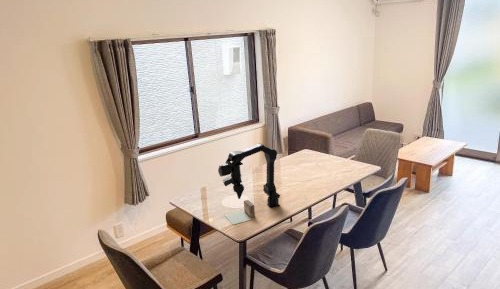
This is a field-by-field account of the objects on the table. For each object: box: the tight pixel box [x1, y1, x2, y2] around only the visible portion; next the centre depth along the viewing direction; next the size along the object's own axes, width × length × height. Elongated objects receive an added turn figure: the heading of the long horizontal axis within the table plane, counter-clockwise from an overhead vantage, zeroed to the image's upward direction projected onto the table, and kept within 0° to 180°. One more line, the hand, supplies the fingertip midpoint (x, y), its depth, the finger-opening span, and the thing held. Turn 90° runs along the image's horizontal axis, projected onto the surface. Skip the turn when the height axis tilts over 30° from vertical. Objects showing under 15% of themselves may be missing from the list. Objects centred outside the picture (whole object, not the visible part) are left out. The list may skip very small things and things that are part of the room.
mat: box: [224, 210, 252, 226], centre depth 227 cm, size 12×14×1 cm
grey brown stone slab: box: [243, 199, 256, 219], centre depth 229 cm, size 3×9×8 cm, turn 26°
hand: (238, 195), depth 226 cm, fingers open, 9 cm apart
